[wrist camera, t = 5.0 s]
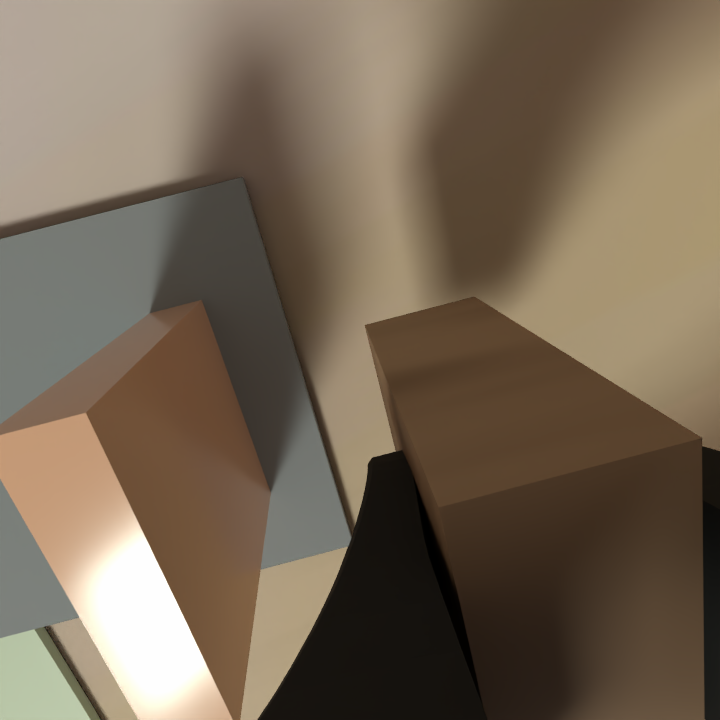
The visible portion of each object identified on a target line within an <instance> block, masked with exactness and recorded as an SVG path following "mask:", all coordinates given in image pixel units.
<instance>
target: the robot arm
mask: <svg viewBox="0 0 720 720" xmlns="http://www.w3.org/2000/svg"><path fill="white" fill-rule="evenodd" d="M702 502H703V610H704V718H705V720H720V451H717V450H713V449H710V448H706V447H703V446H702ZM258 720H488V719H487V717H486V714H485V711H484V709H483V706H482V703H481V700H480V698H479V695H478V692H477V690H476V687H475V684H474V682H473V679H472V676H471V673H470V671H469V668H468V665H467V663H466V660H465V657H464V655H463V652H462V649H461V646H460V644H459V641H458V638H457V635H456V632H455V630H454V627H453V624H452V621H451V618H450V616H449V613H448V610H447V607H446V604H445V602H444V599H443V596H442V593H441V590H440V587H439V583H438V579H437V574H436V570H435V566H434V562H433V558H432V553H431V549H430V545H429V541H428V537H427V532H426V528H425V524H424V520H423V516H422V511H421V507H420V503H419V499H418V495H417V490H416V486H415V482H414V478H413V474H412V471H411V469H410V466H409V464H408V462H407V459H406V457H405V455H404V453H403V451H402V450H400V451H396V452H392V453H389V454H385V455H381V456H377V457H373V458H372V459H371V460H370V462H369V463H368V473H367V481H366V486H365V491H364V496H363V500H362V504H361V508H360V511H359V515H358V518H357V522H356V525H355V529H354V532H353V535H352V538H351V540H350V543H349V546H348V549H347V551H346V554H345V557H344V559H343V562H342V565H341V567H340V570H339V572H338V575H337V577H336V580H335V582H334V584H333V587H332V589H331V591H330V593H329V595H328V598H327V600H326V602H325V604H324V606H323V608H322V610H321V612H320V614H319V616H318V618H317V620H316V622H315V624H314V626H313V628H312V630H311V632H310V634H309V635H308V637H307V639H306V641H305V643H304V644H303V646H302V648H301V650H300V652H299V653H298V655H297V657H296V659H295V661H294V662H293V664H292V666H291V668H290V669H289V671H288V673H287V674H286V676H285V678H284V679H283V681H282V683H281V684H280V686H279V688H278V689H277V691H276V693H275V694H274V696H273V697H272V699H271V700H270V702H269V703H268V705H267V706H266V708H265V709H264V711H263V712H262V714H261V715H260V717H259V718H258Z"/></svg>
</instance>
